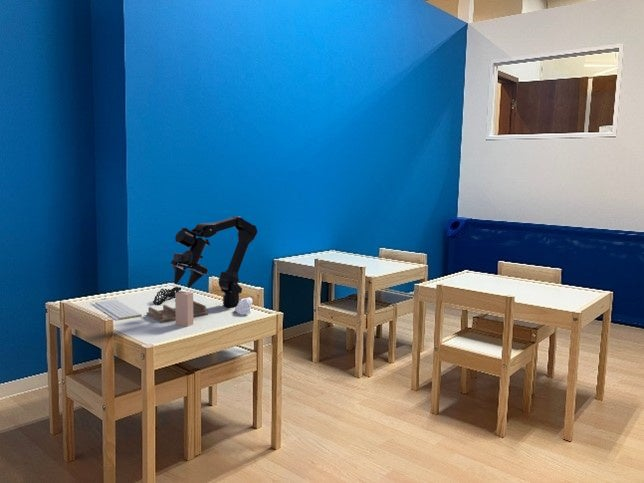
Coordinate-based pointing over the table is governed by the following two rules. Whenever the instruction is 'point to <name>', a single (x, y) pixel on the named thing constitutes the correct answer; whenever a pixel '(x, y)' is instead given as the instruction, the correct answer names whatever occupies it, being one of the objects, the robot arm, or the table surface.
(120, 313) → the baseboard molding
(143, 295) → the table surface
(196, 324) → the table surface
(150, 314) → the drying rack
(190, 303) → the pinkish tan block
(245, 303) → the baby figurine
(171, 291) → the decorative element
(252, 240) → the robot arm
